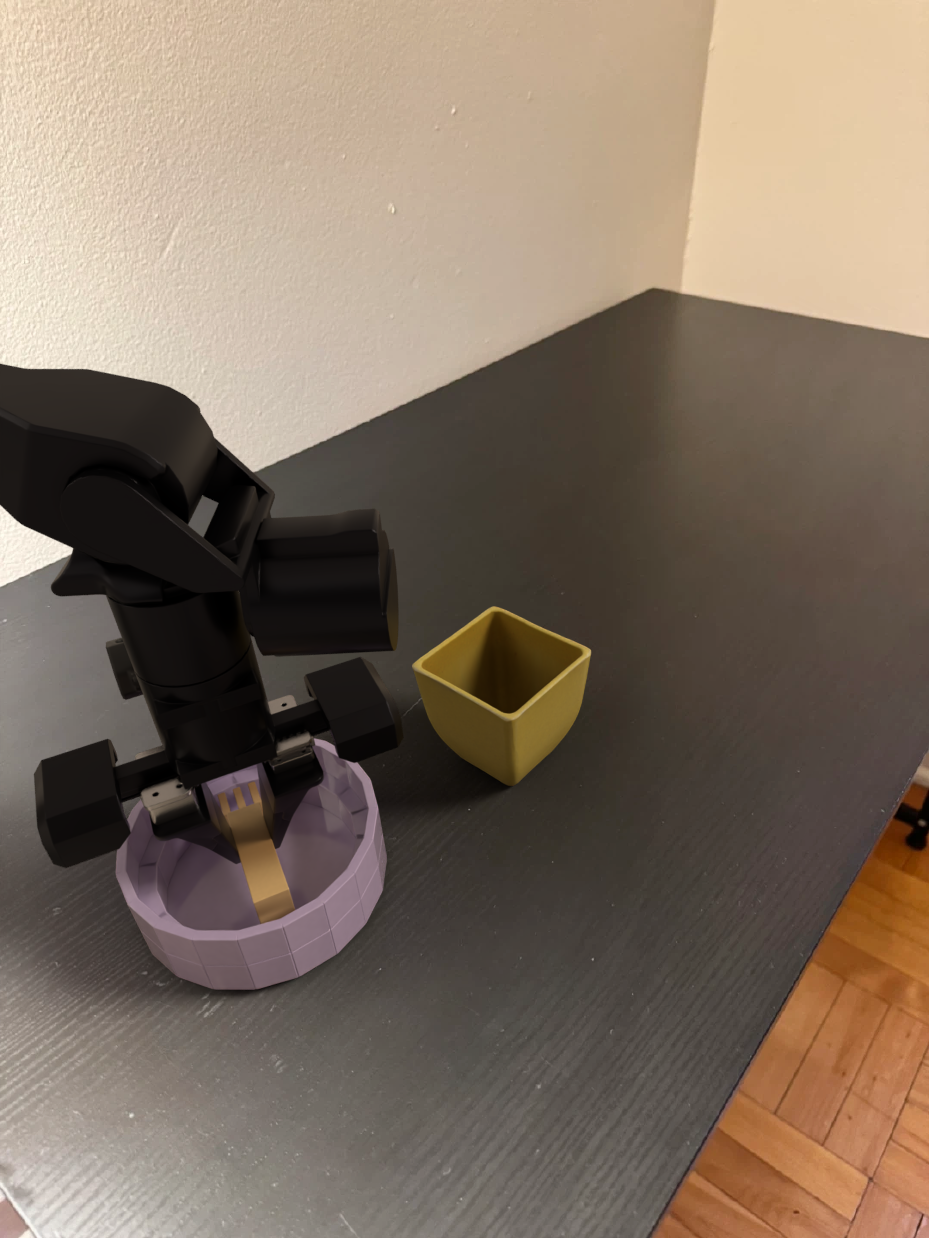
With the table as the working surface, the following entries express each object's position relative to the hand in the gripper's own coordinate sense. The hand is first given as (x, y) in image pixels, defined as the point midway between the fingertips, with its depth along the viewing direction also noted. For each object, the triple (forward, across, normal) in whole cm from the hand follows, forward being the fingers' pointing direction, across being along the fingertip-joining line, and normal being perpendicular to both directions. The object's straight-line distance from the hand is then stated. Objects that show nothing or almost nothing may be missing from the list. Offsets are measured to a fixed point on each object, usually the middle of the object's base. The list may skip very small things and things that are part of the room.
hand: (256, 850), depth 51 cm
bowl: (+4, 0, 0) cm, 4 cm away
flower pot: (+4, -18, -3) cm, 19 cm away
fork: (+1, 0, 0) cm, 1 cm away
